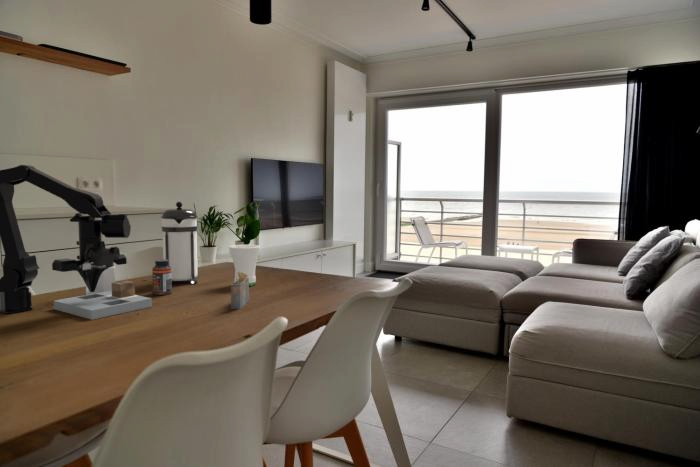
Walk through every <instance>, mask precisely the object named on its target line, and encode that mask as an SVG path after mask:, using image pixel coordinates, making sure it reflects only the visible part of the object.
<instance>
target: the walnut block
mask: <svg viewBox="0 0 700 467" xmlns="http://www.w3.org/2000/svg"><path fill="white" fill-rule="evenodd" d="M135 286H136V284H135V281H130V280H122V281H120V280H119V281H115V282H114V283H112V296H114V297H119V298H123V297H129V296H134V295H136V287H135Z"/></svg>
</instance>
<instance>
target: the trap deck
mask: <svg viewBox="0 0 700 467" xmlns="http://www.w3.org/2000/svg"><path fill="white" fill-rule="evenodd" d="M151 307H153V298H152V297H148V296H147V297H146V296H143V295H139V294H135V295H134V296H129V297H123V298H119V297H114V296H112V290H111V291H106V292H100V293H94V294H89V295H86V294H84V295H83V294H82V295H76V296H72V297H67V298H60V299H56V300H53V309H54V310H55V311H59V312H63V313H66V314H70V315H73V316H78V317H81V318H85V319H88V320H91V321H92V320H97V319H102V318H106V317H111V316H116V315H120V314H124V313H125V314H126V313H130V312H133V311H137V310H138V311H139V310H143V309H147V308H148V309H149V308H151Z"/></svg>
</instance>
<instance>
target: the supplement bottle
mask: <svg viewBox="0 0 700 467" xmlns="http://www.w3.org/2000/svg"><path fill="white" fill-rule="evenodd" d="M154 262H155V264H154V266H153V267H152V272H151V273H152V276H151V277H152V294H153V295H155V296H166V295H170V294H172V292H173V287H172V285H173V284H172V283H173V281H172V272H171V267H170V266H169V265H168V260H166V259H163V258H162V259H156V260H154Z"/></svg>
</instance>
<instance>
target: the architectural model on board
mask: <svg viewBox="0 0 700 467" xmlns="http://www.w3.org/2000/svg"><path fill="white" fill-rule="evenodd" d="M237 273H238V272H237ZM238 276H239V279H238V280H237V281H235V280H234V282H232V284H230V310H241V309H242V308H243V307H244V306H245V305H246V304H247V303H248V302H249V300H250V294H249V293H250V289H249V288H250V286H249V278H247V277H248V275H246V274H243V273H241V272H239V273H238Z"/></svg>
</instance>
